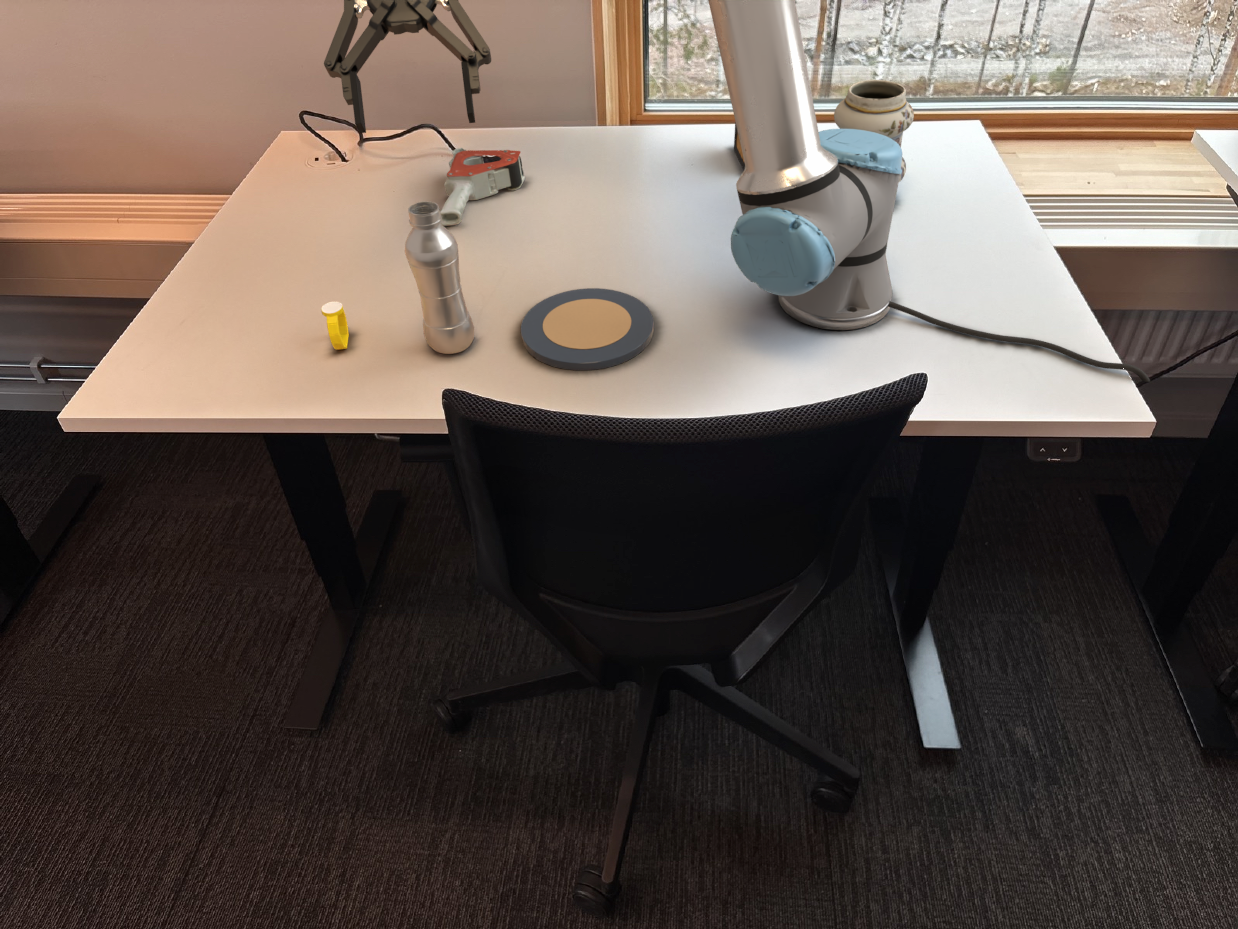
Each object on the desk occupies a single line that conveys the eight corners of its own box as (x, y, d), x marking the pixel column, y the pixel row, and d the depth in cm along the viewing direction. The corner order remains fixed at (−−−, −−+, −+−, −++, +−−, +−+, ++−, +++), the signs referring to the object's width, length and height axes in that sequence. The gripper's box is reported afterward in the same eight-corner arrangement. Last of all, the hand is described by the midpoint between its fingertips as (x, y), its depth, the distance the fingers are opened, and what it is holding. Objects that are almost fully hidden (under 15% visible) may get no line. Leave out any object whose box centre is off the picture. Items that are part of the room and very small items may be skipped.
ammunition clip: (733, 149, 163) (736, 81, 155) (743, 148, 163) (747, 80, 155) (745, 174, 155) (749, 104, 147) (756, 173, 155) (760, 103, 147)
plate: (679, 320, 123) (679, 312, 122) (598, 387, 112) (597, 379, 112) (578, 282, 131) (577, 274, 130) (494, 341, 121) (492, 333, 120)
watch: (335, 332, 124) (323, 295, 120) (355, 330, 124) (344, 293, 120) (330, 357, 120) (318, 319, 116) (351, 355, 120) (339, 317, 116)
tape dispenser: (445, 240, 145) (549, 197, 152) (438, 211, 141) (545, 168, 148) (399, 197, 155) (499, 158, 162) (391, 168, 152) (494, 130, 158)
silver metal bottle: (468, 362, 118) (441, 222, 104) (419, 358, 119) (386, 219, 105) (483, 334, 122) (459, 197, 109) (436, 330, 123) (407, 194, 110)
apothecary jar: (823, 183, 151) (836, 73, 139) (897, 185, 149) (916, 74, 137) (824, 217, 142) (838, 103, 130) (902, 220, 141) (923, 104, 128)
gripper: (498, -34, 116) (518, 126, 115) (303, -18, 114) (322, 144, 114) (494, -71, 109) (515, 100, 108) (285, -55, 107) (305, 119, 106)
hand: (416, 123), depth 111 cm, fingers open, 13 cm apart
